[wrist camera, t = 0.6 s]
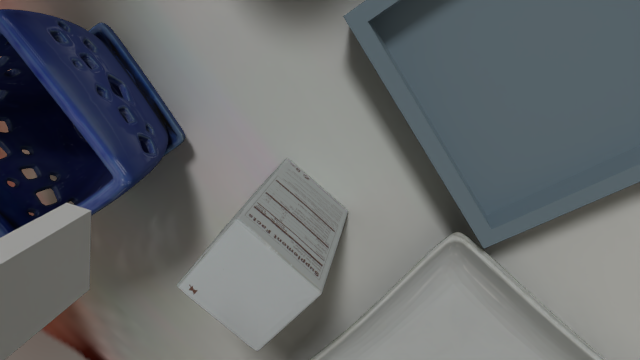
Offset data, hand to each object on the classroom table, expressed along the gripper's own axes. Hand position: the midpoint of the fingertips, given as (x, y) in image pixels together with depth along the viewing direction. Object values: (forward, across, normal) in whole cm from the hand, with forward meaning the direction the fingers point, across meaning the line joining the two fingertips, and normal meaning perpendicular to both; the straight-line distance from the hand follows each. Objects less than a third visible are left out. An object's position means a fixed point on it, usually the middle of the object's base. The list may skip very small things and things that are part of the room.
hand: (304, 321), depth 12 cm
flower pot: (+25, -23, -6) cm, 35 cm away
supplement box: (+26, -5, -10) cm, 28 cm away
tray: (+25, +10, +8) cm, 28 cm away
